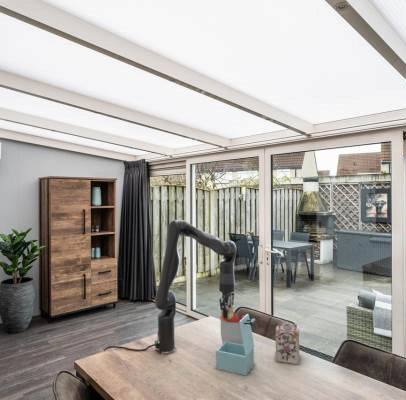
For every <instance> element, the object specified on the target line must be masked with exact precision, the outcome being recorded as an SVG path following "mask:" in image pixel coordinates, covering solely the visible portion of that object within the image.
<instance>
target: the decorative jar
mask: <svg viewBox="0 0 406 400" xmlns="http://www.w3.org/2000/svg"><path fill="white" fill-rule="evenodd" d="M274 336H275V361H276V362H277V363H284V364H291V365H299V364H300V330H299V328H298V327H297V326H294V325H292V323H289V322H283V323H282V324H280V325H279V324H278V325H277V326H275V334H274Z"/></svg>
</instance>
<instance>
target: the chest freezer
mask: <svg viewBox="0 0 406 400" xmlns="http://www.w3.org/2000/svg"><path fill="white" fill-rule="evenodd" d="M254 351H255V346H254V347H253V349H252V350H251V351H250V352H249V354H248V355H247V356H245V352H244V346H243V345H240V344H235V343H230V342H224V343H222V344H221V345H220V346H219V347H218V348H217V349H216V350H215V368H216V369H217V370H221V371H226V372H229V373H234V374H238V375H243V376H248V374H249V372H250V371H251V369H252V368H253V366H254V365H255V354H254V353H255V352H254Z"/></svg>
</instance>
